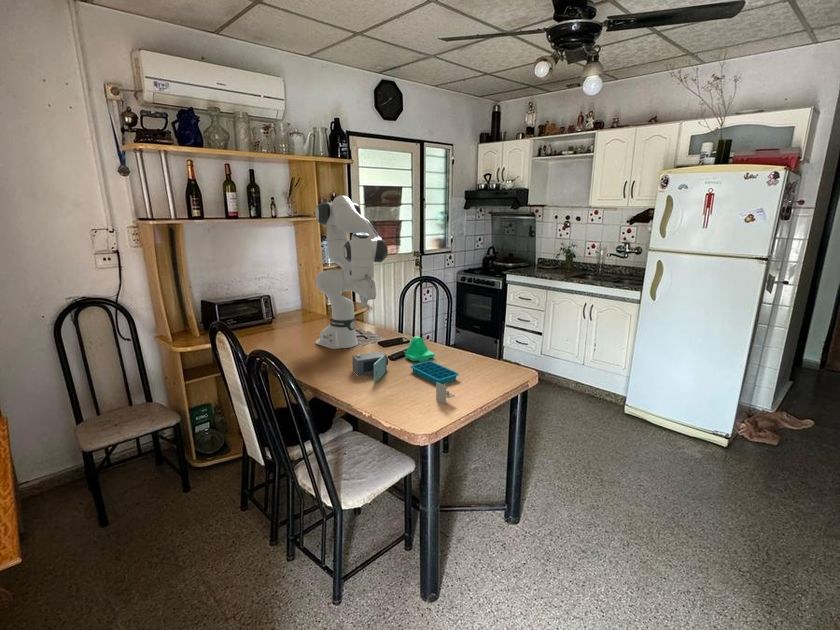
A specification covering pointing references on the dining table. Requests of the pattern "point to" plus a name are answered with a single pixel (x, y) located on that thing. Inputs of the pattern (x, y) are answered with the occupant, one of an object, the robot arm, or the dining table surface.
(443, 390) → the architectural model
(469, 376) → the dining table surface
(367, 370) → the action camera
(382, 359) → the side door
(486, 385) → the dining table surface
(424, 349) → the camera mount
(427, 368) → the ice cube tray
